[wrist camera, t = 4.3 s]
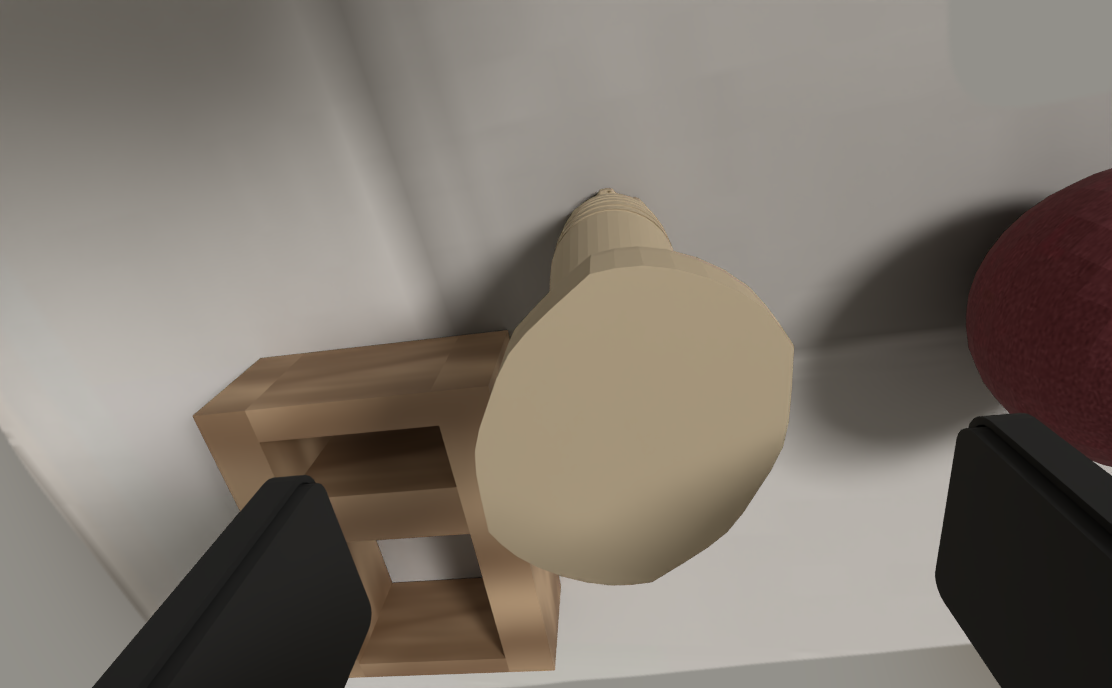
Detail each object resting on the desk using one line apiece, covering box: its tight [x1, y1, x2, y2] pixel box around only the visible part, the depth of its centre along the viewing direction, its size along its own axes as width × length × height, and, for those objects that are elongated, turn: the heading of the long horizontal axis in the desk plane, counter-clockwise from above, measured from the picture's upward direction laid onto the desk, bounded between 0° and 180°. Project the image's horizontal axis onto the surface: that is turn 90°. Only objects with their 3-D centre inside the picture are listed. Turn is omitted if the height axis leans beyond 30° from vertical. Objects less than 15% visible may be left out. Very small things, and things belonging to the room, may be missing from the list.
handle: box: [475, 188, 794, 585], centre depth 16 cm, size 5×6×15 cm
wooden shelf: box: [193, 330, 561, 678], centre depth 27 cm, size 16×12×5 cm
